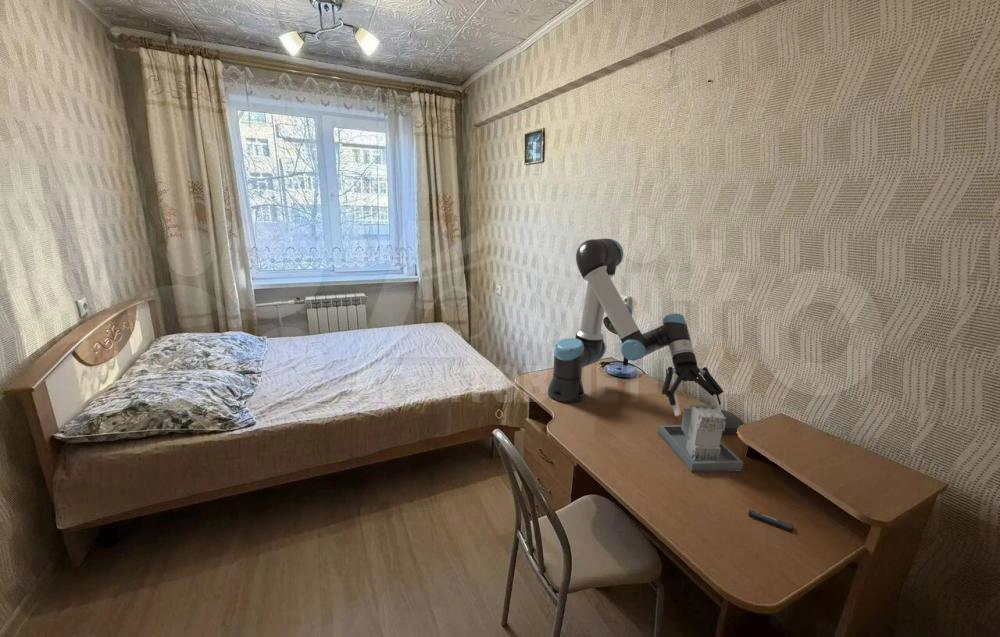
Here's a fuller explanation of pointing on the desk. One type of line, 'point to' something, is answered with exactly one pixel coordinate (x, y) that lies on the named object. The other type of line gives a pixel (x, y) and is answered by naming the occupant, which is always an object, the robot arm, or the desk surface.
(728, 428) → the media streaming box
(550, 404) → the desk surface
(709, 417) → the circuit breaker
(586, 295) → the robot arm
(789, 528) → the usb stick
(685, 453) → the tray
